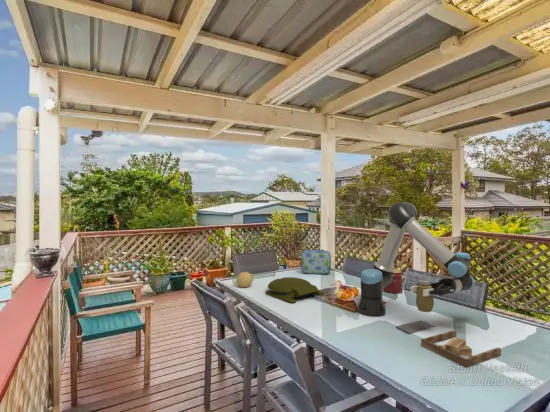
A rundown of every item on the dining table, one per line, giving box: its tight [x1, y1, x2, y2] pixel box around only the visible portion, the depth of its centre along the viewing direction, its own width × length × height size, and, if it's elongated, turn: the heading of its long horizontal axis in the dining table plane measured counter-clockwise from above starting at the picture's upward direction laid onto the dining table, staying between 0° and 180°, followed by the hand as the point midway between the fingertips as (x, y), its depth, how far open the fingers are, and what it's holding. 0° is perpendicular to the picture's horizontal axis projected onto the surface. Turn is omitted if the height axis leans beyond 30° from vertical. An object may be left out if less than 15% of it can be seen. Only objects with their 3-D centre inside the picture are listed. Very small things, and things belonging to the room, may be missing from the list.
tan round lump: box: [236, 271, 254, 288], centre depth 238 cm, size 12×12×11 cm
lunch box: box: [300, 249, 332, 275], centre depth 278 cm, size 26×11×21 cm, turn 81°
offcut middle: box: [438, 343, 473, 355], centre depth 131 cm, size 5×11×2 cm, turn 94°
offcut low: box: [457, 353, 473, 358], centre depth 131 cm, size 5×12×2 cm, turn 62°
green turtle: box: [265, 276, 326, 304], centre depth 219 cm, size 35×31×10 cm
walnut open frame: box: [420, 329, 502, 368], centre depth 132 cm, size 22×20×4 cm
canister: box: [382, 265, 404, 294], centre depth 223 cm, size 13×13×18 cm
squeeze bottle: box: [415, 272, 435, 313], centre depth 154 cm, size 8×8×18 cm
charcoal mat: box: [395, 319, 437, 335], centre depth 154 cm, size 18×18×1 cm
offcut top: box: [445, 336, 467, 353], centre depth 131 cm, size 4×10×2 cm, turn 133°
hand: (417, 291), depth 152 cm, fingers closed on squeeze bottle, 6 cm apart
